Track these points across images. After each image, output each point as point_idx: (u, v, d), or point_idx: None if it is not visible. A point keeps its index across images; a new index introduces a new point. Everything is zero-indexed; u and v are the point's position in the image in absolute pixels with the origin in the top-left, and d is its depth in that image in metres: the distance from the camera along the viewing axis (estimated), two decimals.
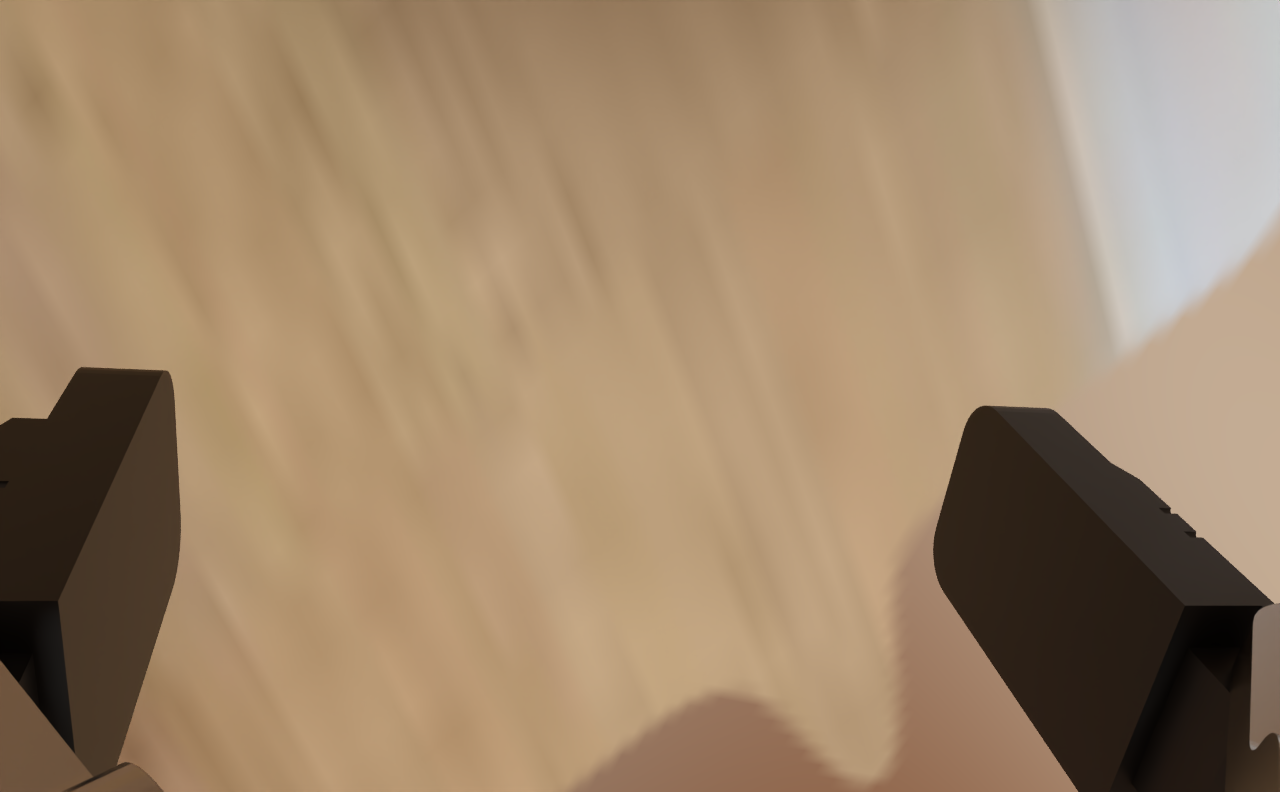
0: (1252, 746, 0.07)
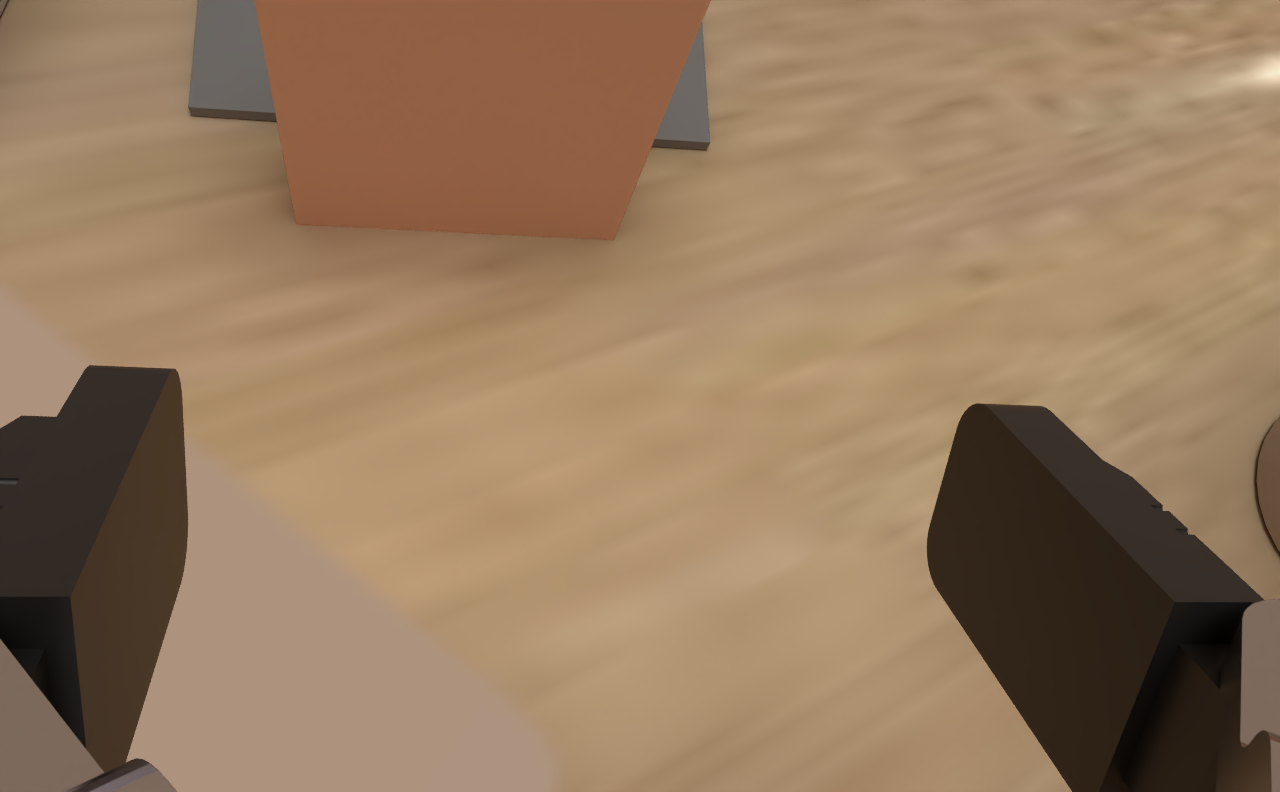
0: (1242, 743, 0.07)
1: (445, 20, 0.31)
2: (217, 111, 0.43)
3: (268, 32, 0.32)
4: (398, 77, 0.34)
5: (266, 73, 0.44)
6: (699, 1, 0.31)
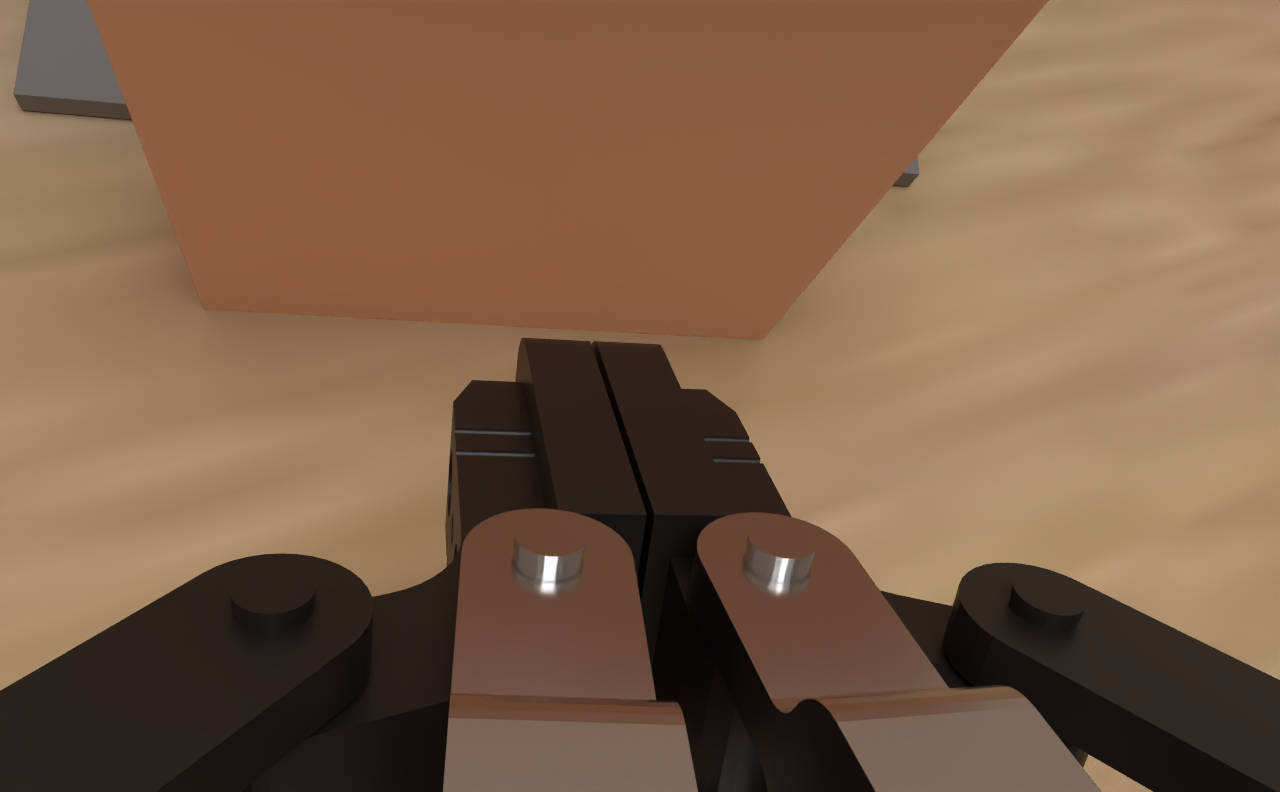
0: (777, 705, 0.07)
1: None
2: (68, 102, 0.24)
3: None
4: (392, 22, 0.15)
5: None
6: None
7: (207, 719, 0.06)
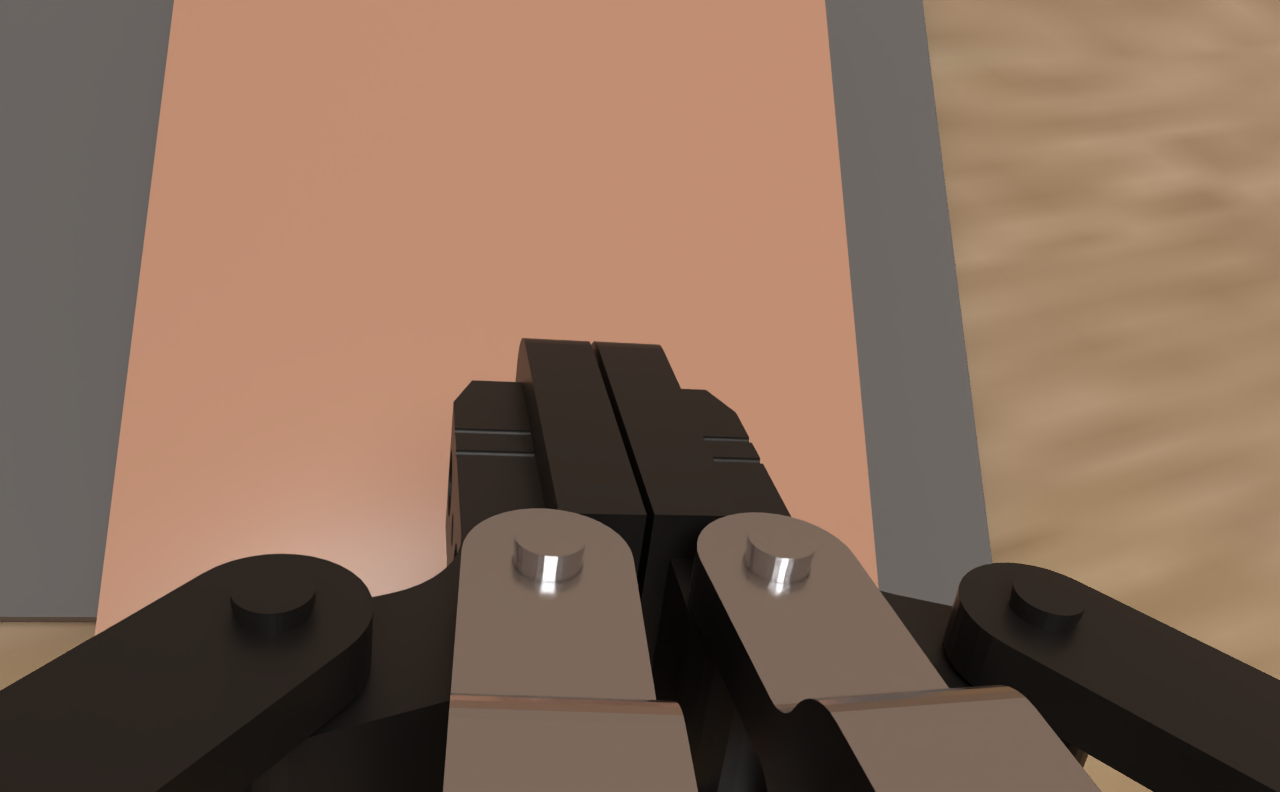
0: (776, 706, 0.07)
1: None
2: None
3: None
4: (392, 79, 0.20)
5: (73, 518, 0.20)
6: None
7: (206, 719, 0.06)
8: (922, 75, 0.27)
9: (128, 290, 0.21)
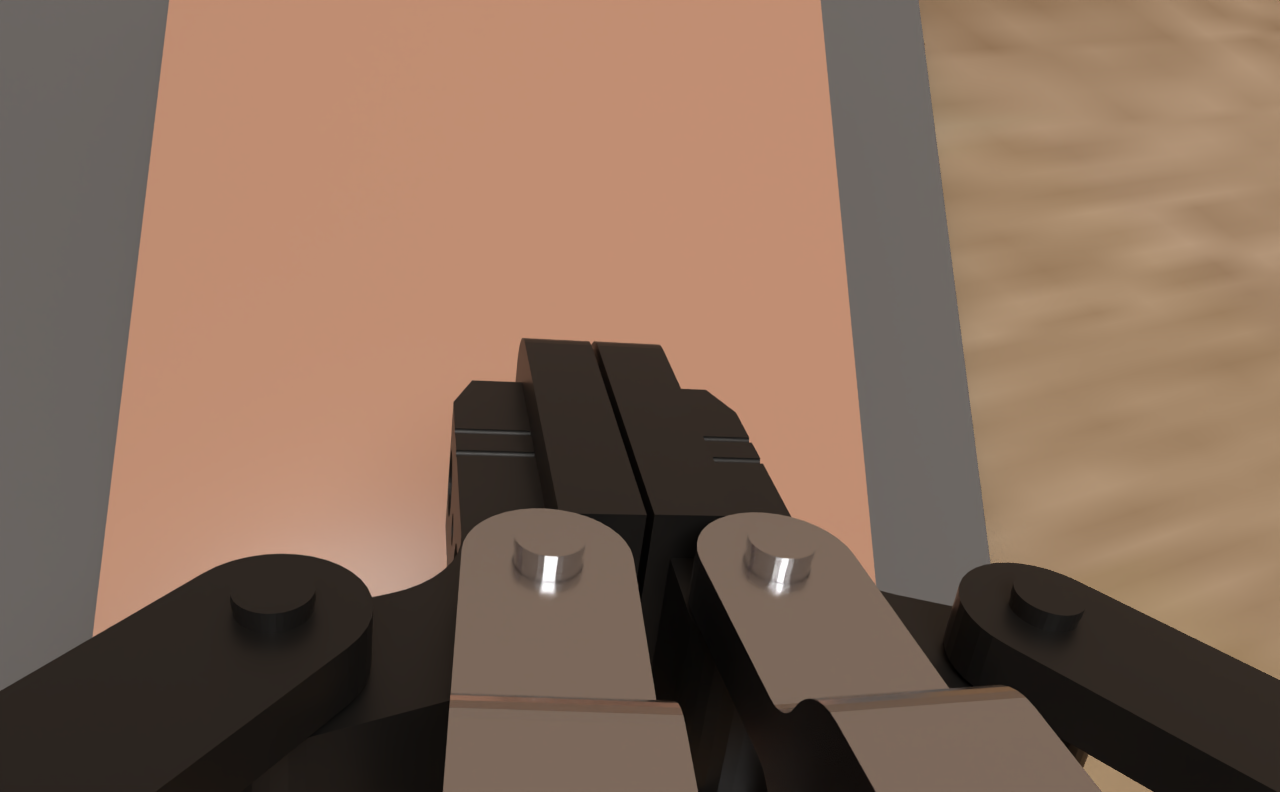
0: (776, 705, 0.07)
1: (462, 42, 0.21)
2: None
3: (174, 74, 0.19)
4: (383, 180, 0.20)
5: (55, 636, 0.19)
6: None
7: (207, 720, 0.06)
8: (927, 147, 0.26)
9: (112, 393, 0.21)
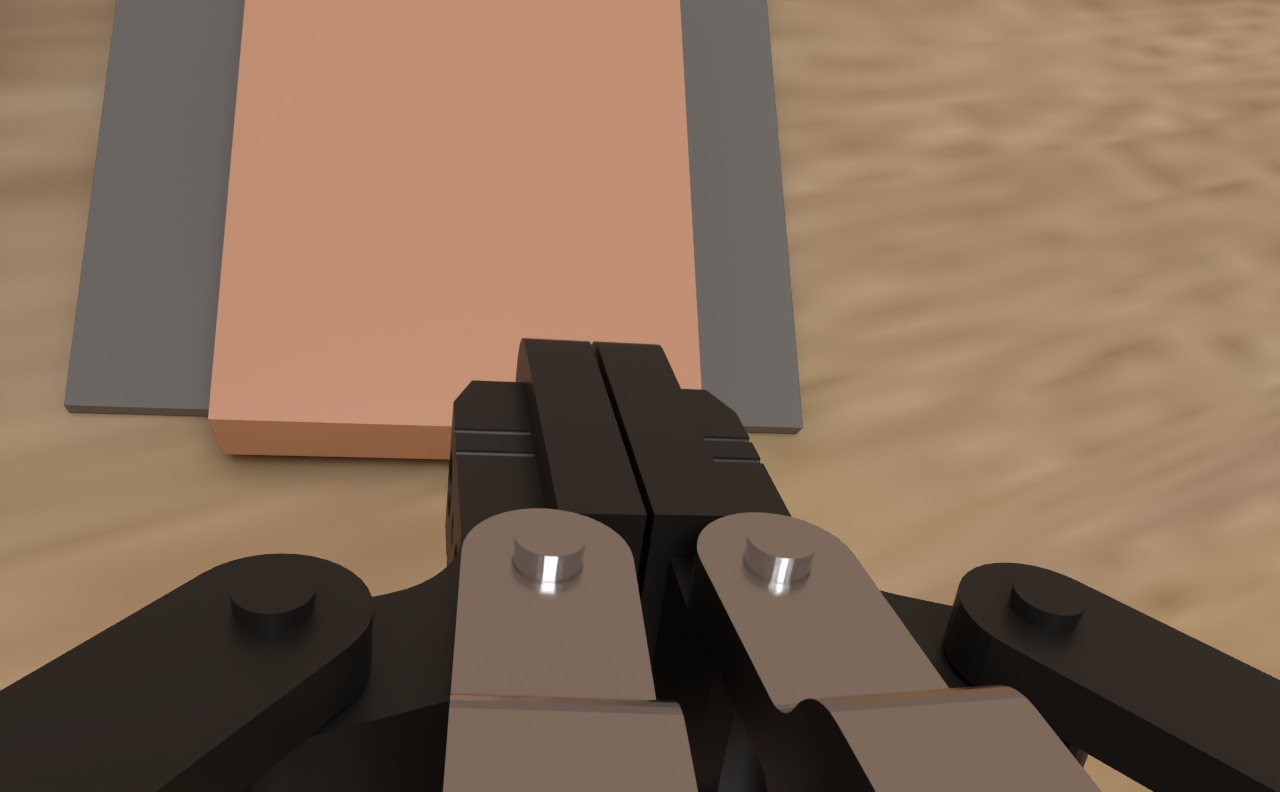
0: (776, 705, 0.07)
1: None
2: (107, 408, 0.30)
3: None
4: (386, 60, 0.31)
5: (181, 348, 0.30)
6: None
7: (206, 720, 0.06)
8: (764, 59, 0.38)
9: (211, 203, 0.32)
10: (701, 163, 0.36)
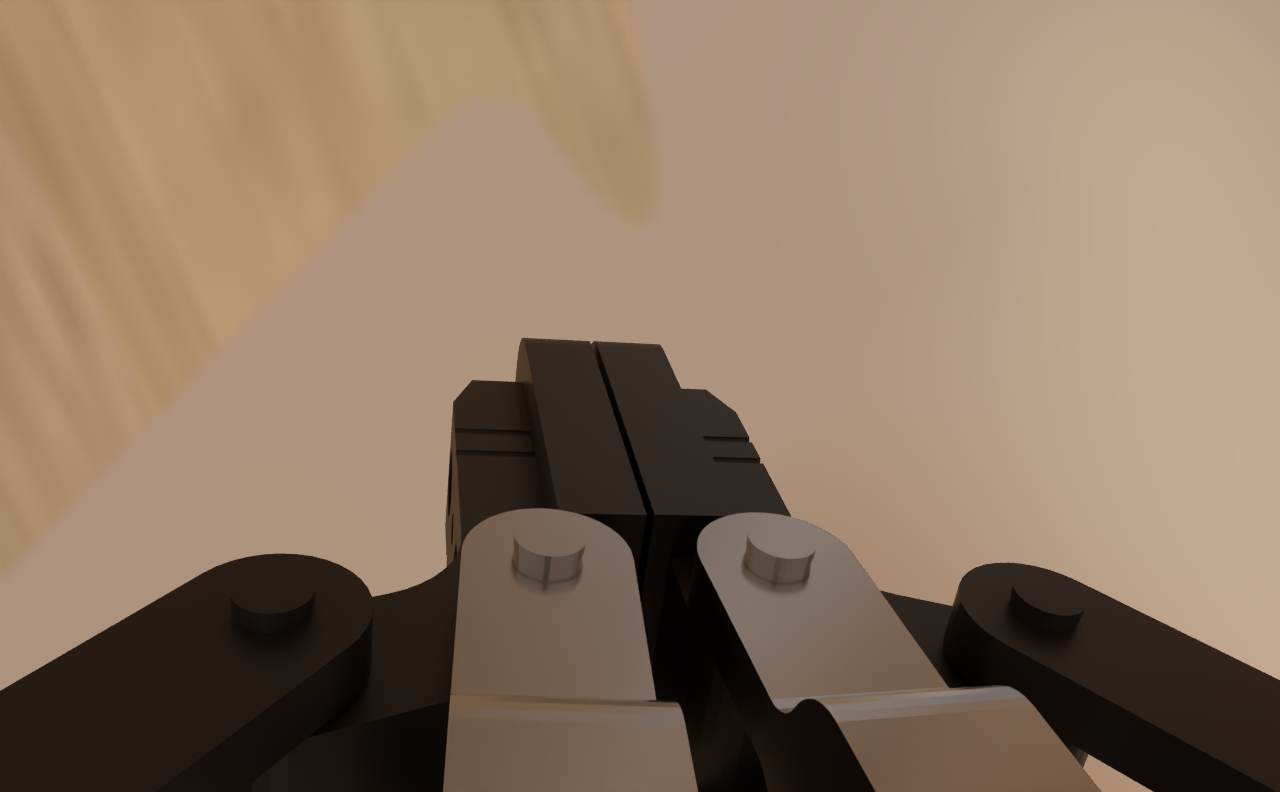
0: (776, 705, 0.07)
1: None
2: None
3: None
4: None
5: None
6: None
7: (206, 720, 0.06)
8: None
9: None
10: None
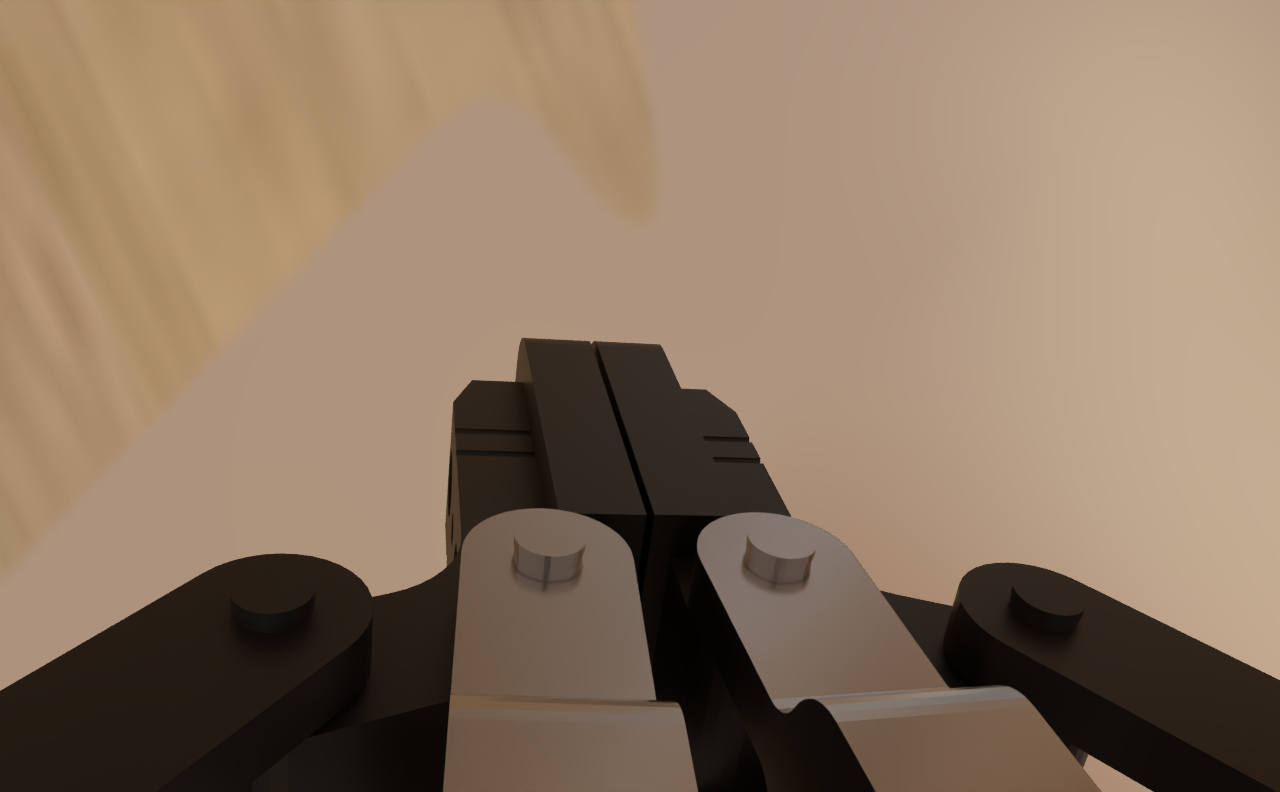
0: (776, 705, 0.07)
1: None
2: None
3: None
4: None
5: None
6: None
7: (206, 720, 0.06)
8: None
9: None
10: None
